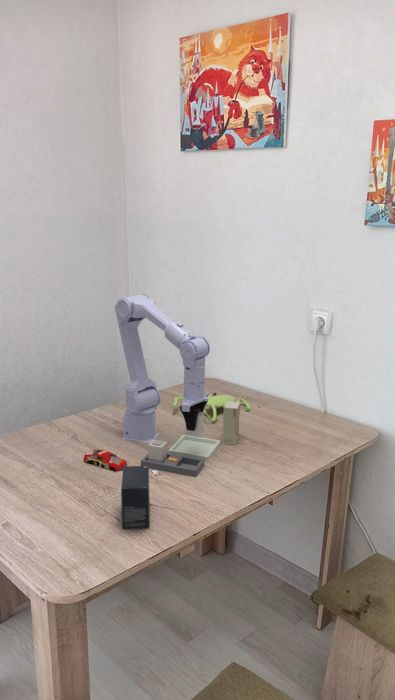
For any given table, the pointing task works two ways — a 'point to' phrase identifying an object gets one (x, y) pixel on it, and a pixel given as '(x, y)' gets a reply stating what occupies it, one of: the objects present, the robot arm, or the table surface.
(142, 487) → the small box
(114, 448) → the table surface
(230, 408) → the skincare box
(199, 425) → the plug
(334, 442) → the table surface
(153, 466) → the strip
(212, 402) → the figurine
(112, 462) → the race car
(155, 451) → the twin plug
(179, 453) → the tray
